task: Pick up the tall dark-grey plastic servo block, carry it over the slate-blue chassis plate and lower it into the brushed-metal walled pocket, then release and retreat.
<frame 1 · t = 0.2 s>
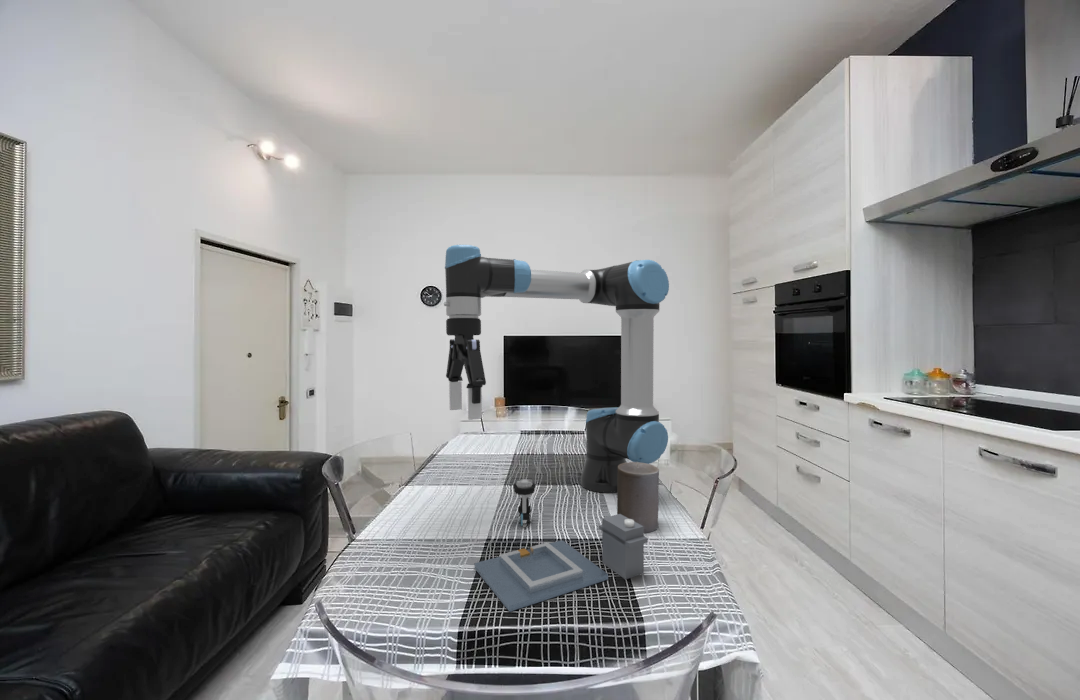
hand: (464, 414, 101), 28 cm above the table, fingers open, 13 cm apart
servo: (622, 568, 88), on the table
push button: (524, 524, 109), on the table
pillar candle: (637, 525, 108), on the table
chassis: (539, 573, 86), on the table
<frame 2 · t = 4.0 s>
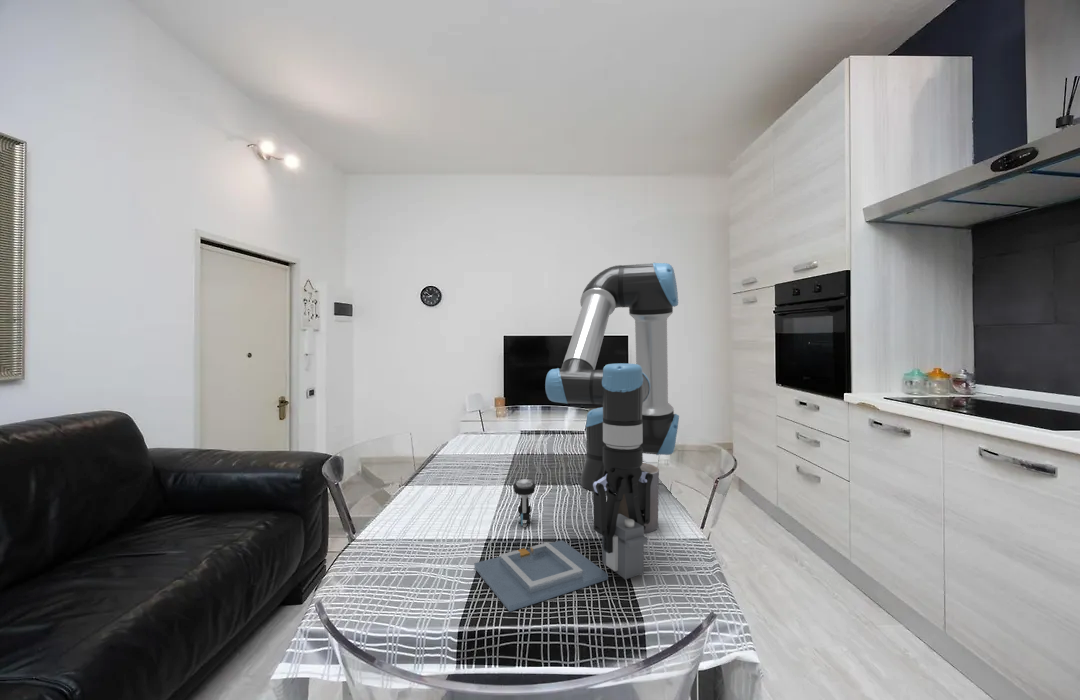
hand: (622, 564, 88), 1 cm above the table, fingers closed on servo, 4 cm apart
servo: (622, 567, 88), on the table, touching gripper
everything else where it was.
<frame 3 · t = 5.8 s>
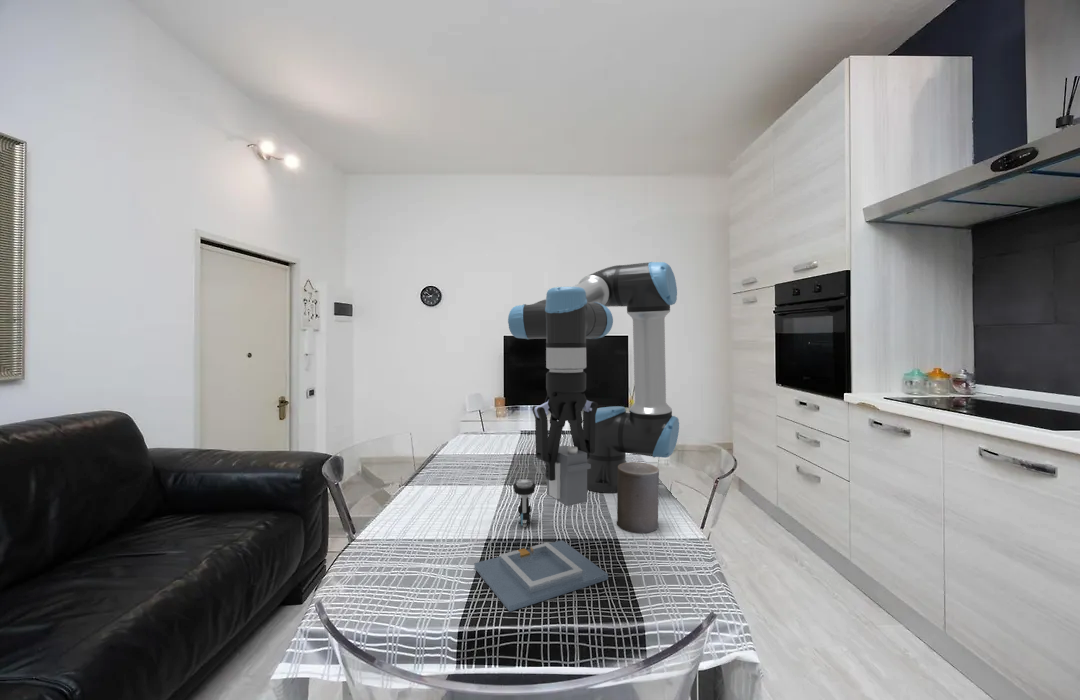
hand: (566, 493, 86), 15 cm above the table, fingers closed on servo, 4 cm apart
servo: (566, 497, 86), point 14 cm above the table, touching gripper
everything else where it was.
when the fingers open (4 cm above the table, at t = 7.7 s): servo drops 2 cm, resting on chassis.
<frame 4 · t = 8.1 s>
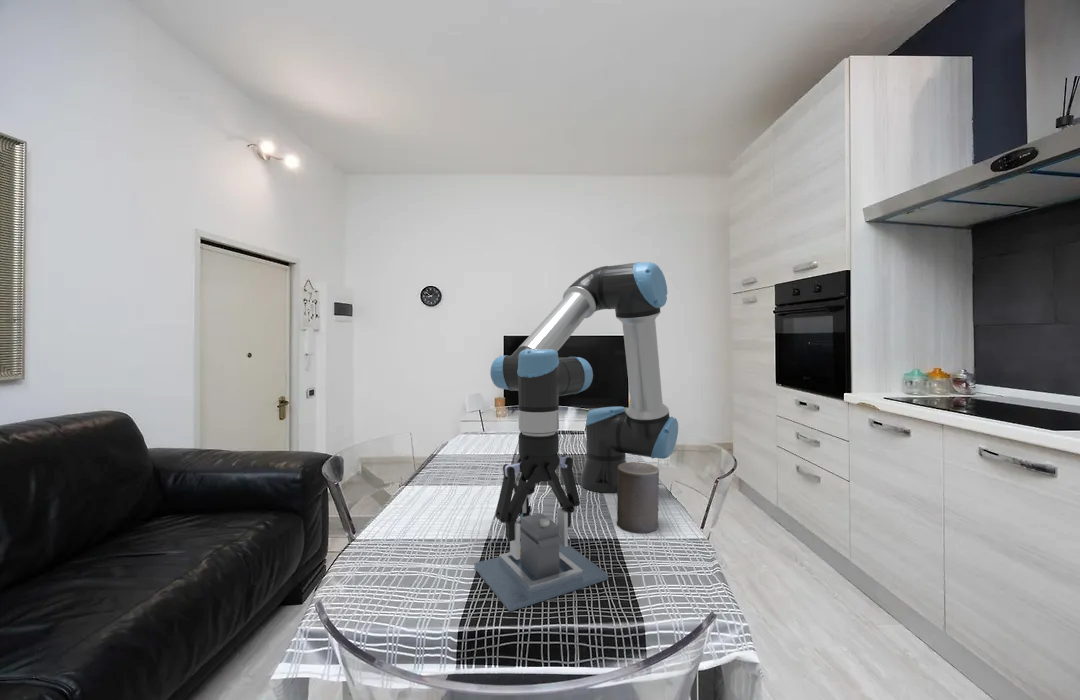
hand: (539, 549, 86), 5 cm above the table, fingers open, 9 cm apart
servo: (539, 568, 86), point 1 cm above the table, touching chassis
everything else where it was.
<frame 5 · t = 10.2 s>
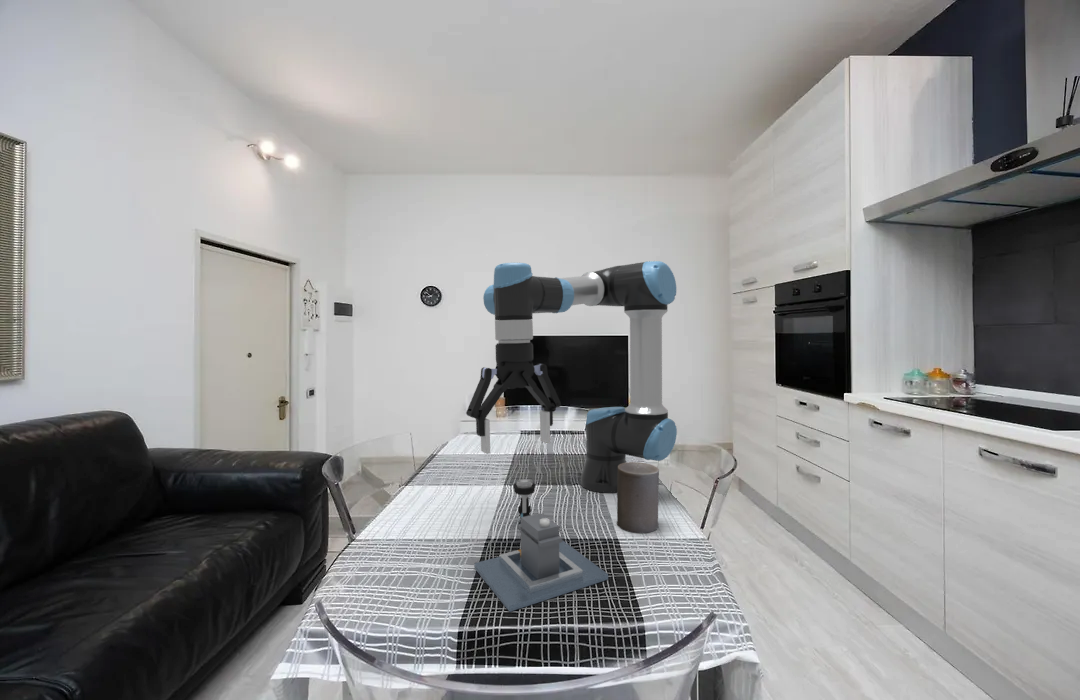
hand: (516, 447, 92), 22 cm above the table, fingers open, 13 cm apart
nothing on the table moved.
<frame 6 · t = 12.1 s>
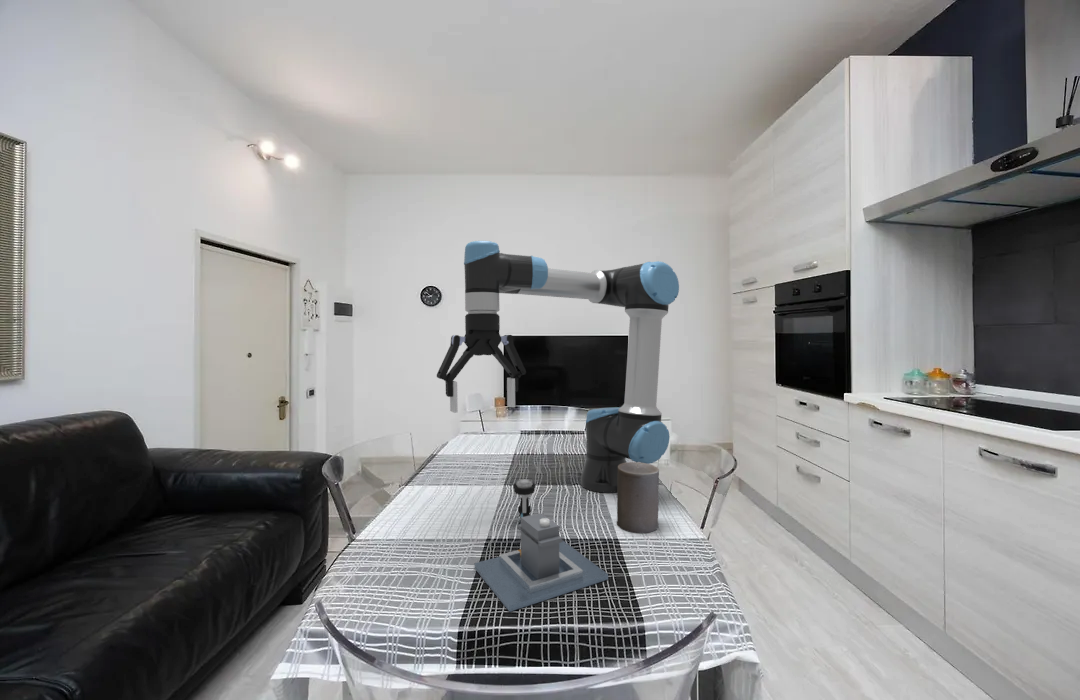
hand: (483, 409, 101), 29 cm above the table, fingers open, 13 cm apart
nothing on the table moved.
at the end: servo inside the target area on the chassis (0.0 cm from its centre), point 1.0 cm above the chassis's base; servo tilted 0°; the gripper is holding nothing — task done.
